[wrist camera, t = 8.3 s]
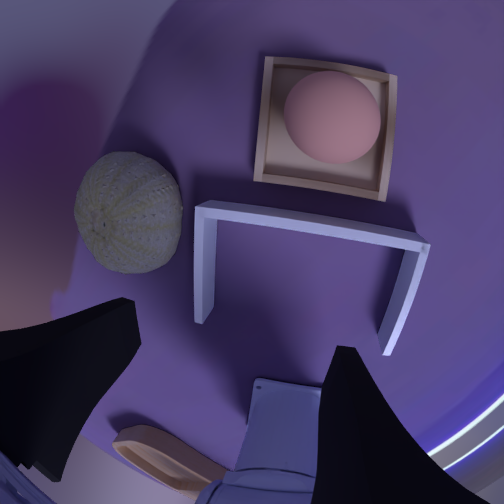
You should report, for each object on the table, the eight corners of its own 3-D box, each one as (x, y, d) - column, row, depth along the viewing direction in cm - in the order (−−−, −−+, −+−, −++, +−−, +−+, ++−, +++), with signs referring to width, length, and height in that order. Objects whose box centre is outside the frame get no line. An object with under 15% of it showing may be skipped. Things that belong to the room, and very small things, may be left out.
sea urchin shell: (108, 120, 16) (97, 171, 11) (191, 160, 21) (218, 220, 16) (66, 212, 19) (55, 285, 14) (140, 236, 25) (150, 305, 20)
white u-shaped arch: (384, 335, 19) (389, 355, 16) (206, 305, 21) (194, 322, 19) (416, 233, 16) (430, 244, 13) (210, 199, 18) (195, 206, 16)
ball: (362, 170, 15) (388, 173, 10) (282, 157, 16) (275, 154, 11) (369, 94, 13) (395, 70, 9) (289, 81, 14) (285, 49, 9)
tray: (380, 199, 16) (385, 202, 14) (257, 179, 17) (253, 180, 16) (392, 80, 13) (396, 76, 12) (268, 62, 14) (265, 56, 13)
